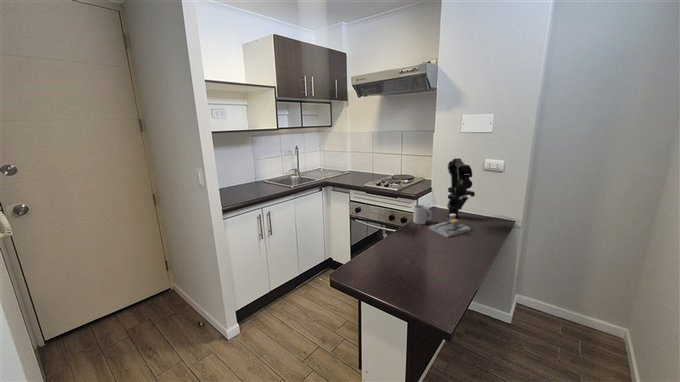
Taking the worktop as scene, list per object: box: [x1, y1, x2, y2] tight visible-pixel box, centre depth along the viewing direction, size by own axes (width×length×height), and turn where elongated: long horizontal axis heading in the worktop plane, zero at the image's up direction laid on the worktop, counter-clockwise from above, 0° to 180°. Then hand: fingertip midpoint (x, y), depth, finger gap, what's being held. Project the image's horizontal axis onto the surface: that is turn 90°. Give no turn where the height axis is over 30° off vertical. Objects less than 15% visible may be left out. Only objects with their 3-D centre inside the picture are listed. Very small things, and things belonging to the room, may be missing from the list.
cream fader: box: [448, 213, 456, 223], centre depth 181 cm, size 3×2×5 cm
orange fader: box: [451, 218, 459, 229], centre depth 171 cm, size 3×2×5 cm
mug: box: [412, 204, 433, 225], centre depth 188 cm, size 12×8×11 cm
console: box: [428, 220, 471, 238], centre depth 176 cm, size 20×15×3 cm
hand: (460, 207), depth 181 cm, fingers closed
